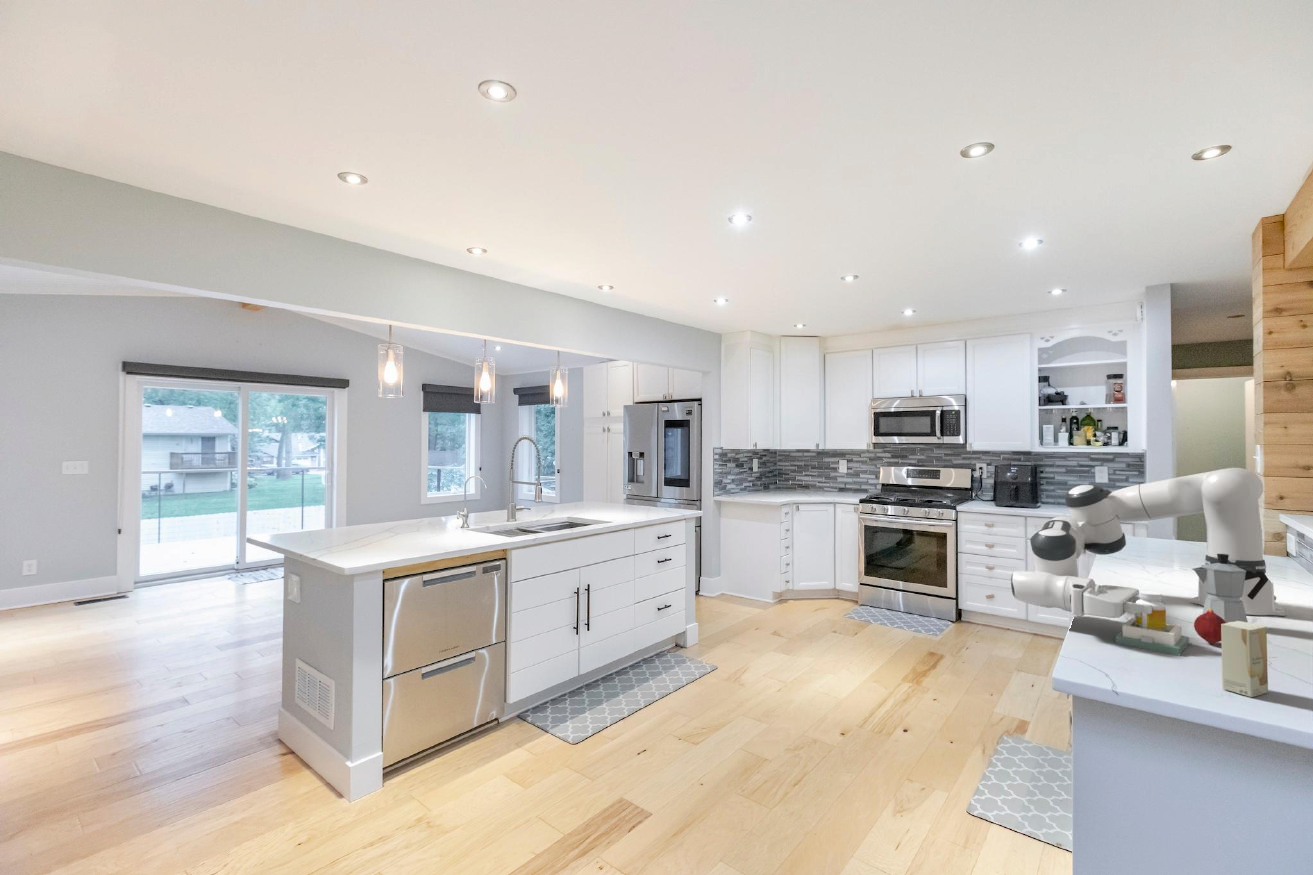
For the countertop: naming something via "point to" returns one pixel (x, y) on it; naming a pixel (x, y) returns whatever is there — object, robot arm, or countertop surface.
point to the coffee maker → (1228, 587)
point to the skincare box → (1244, 658)
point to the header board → (1153, 638)
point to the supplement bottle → (1157, 616)
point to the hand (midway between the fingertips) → (1155, 607)
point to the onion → (1209, 626)
